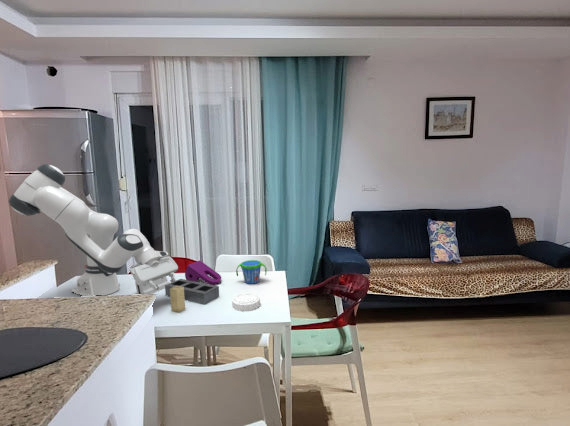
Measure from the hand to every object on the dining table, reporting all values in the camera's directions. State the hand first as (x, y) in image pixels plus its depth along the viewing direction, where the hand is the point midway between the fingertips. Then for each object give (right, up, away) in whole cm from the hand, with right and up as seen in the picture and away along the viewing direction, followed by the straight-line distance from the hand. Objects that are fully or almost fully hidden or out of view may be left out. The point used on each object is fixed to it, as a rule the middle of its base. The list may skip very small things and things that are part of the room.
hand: (166, 285), depth 147 cm
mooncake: (+34, -10, +3) cm, 35 cm away
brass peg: (+5, -10, 0) cm, 12 cm away
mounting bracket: (+9, -5, +34) cm, 35 cm away
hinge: (-15, -7, +24) cm, 29 cm away
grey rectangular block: (+7, -8, +15) cm, 18 cm away
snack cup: (+34, -5, +32) cm, 47 cm away
